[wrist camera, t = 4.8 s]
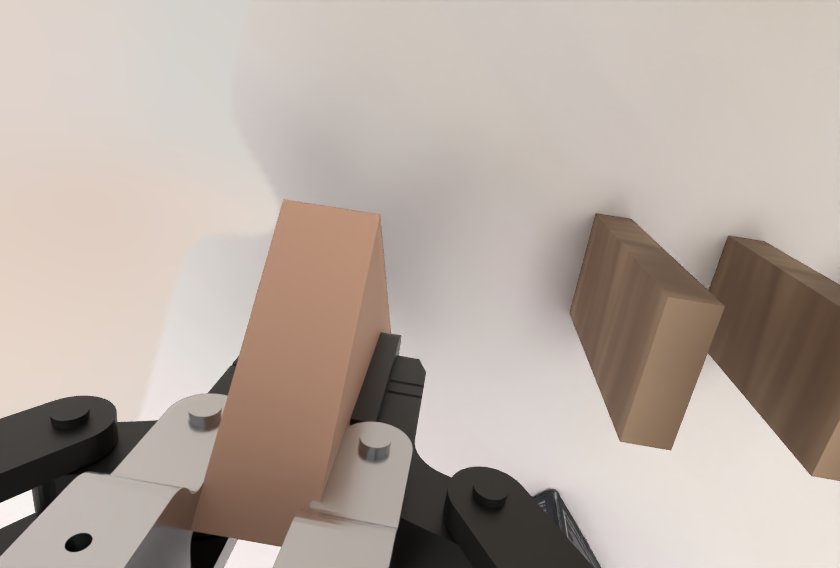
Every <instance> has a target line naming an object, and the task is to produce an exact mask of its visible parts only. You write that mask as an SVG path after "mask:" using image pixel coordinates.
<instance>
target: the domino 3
mask: <svg viewBox="0 0 840 568" xmlns="http://www.w3.org/2000/svg"><path fill="white" fill-rule="evenodd" d="M709 292H710V293H711V294H712V295H713V296H714V297H716V298H717V299H718V300H719V301H720V302H721V303H722V304H723V305H724V306H725V308H724V310H723V313H722V316H721V318H720V321H719V324H718V326H717V329H716V332H715V334H714V337H713V340H712V342H711V345H710V348H709V350H708V354H709V355H710V356H711V357H712V358H713V359H714V361H715V362H716V363H717V364H718V365H719V367H720V368H721V369H722V370H723V371H724V373H725V374H726V375H727V376H728V377H729V379H730V380H731V381H732V382H733V383H734V385H735V386H736V387H737V388H738V389H739V390H740V392H741V393H742V394H743V395H744V396H745V398H746V399H747V400H748V401H749V402H750V404H751V405H752V406H753V407H754V408H755V410H756V411H757V412H758V413H759V414H760V415H761V417H762V418H763V419H764V420H765V421H766V423H767V424H768V425H769V426H770V427H771V429H772V430H773V431H774V432H775V433H776V435H777V436H778V437H779V438H780V439H781V440H782V442H783V443H784V444H785V445H786V446H787V448H788V449H789V450H790V451H791V452H792V454H793V455H794V456H795V457H796V458H797V460H798V461H799V462H800V463H801V464H802V465H803V467H804V468H805V469H806V470H807V471H808V473H809V474H810V475H811V476H814V477H820V478H825V479H831V480H837V481H840V285H839V284H837V283H836V282H834V281H832V280H830V279H829V278H827V277H825V276H823V275H822V274H820V273H818V272H816V271H815V270H813V269H811V268H810V267H808V266H806V265H804V264H803V263H801V262H799V261H797V260H796V259H794V258H792V257H790V256H789V255H787V254H785V253H784V252H782V251H780V250H778V249H777V248H775V247H773V246H771V245H770V244H768V243H766V242H765V241H758V240H752V239H746V238H739V237H733V236H728V239H727V241H726V244H725V247H724V250H723V252H722V255H721V258H720V261H719V264H718V266H717V269H716V272H715V275H714V277H713V280H712V283H711V286H710V289H709Z"/></svg>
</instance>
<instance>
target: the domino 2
mask: <svg viewBox="0 0 840 568" xmlns="http://www.w3.org/2000/svg"><path fill="white" fill-rule="evenodd" d="M724 308H725V306H724V305H723V304H722V303H721V302H720V301H719V300H718V299H717V298H716V297H714V296H713V295H712V294H711V293H710V292H709V291H708V290H707V289H706V288H705V287H704V286H703V285H702V284H701V283H699V282H698V281H697V280H696V279H695V278H694V277H693V276H692V275H691V274H690V273H689V272H688V271H687V270H686V269H684V268H683V267H682V266H681V265H680V264H679V263H678V262H677V261H676V260H675V259H674V258H673V257H672V256H670V255H669V254H668V253H667V252H666V251H665V250H664V249H663V248H662V247H661V246H660V245H659V244H658V243H657V242H655V241H654V240H653V239H652V238H651V237H650V236H649V235H648V234H647V233H646V232H645V231H644V230H643V229H641V228H640V227H639V226H638V225H637V224H636V223H635V222H634V221H633V220H632V219H628V218H621V217H615V216H609V215H603V214H596V215H595V219H594V222H593V226H592V230H591V234H590V238H589V241H588V245H587V249H586V253H585V257H584V260H583V264H582V268H581V272H580V276H579V279H578V283H577V287H576V291H575V295H574V298H573V302H572V306H571V310H570V316H571V318H572V321H573V323H574V326H575V329H576V331H577V334H578V336H579V339H580V341H581V344H582V346H583V349H584V351H585V354H586V356H587V359H588V361H589V364H590V366H591V369H592V372H593V374H594V377H595V379H596V382H597V384H598V387H599V389H600V392H601V394H602V397H603V399H604V402H605V404H606V407H607V410H608V412H609V415H610V417H611V420H612V422H613V425H614V427H615V430H616V432H617V435H618V437H619V440H620V442H626V443H631V444H637V445H643V446H649V447H655V448H660V449H666V450H671V449H672V446H673V444H674V441H675V438H676V436H677V433H678V430H679V428H680V425H681V422H682V420H683V417H684V414H685V412H686V409H687V406H688V404H689V401H690V398H691V396H692V393H693V390H694V388H695V385H696V382H697V380H698V377H699V374H700V372H701V369H702V366H703V364H704V361H705V358H706V356H707V353H708V350H709V348H710V345H711V342H712V340H713V337H714V334H715V332H716V329H717V326H718V324H719V321H720V318H721V316H722V313H723V310H724Z"/></svg>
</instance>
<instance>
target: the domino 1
mask: <svg viewBox="0 0 840 568" xmlns="http://www.w3.org/2000/svg"><path fill="white" fill-rule="evenodd" d="M381 332H384V333H390V334H391V329H390V318H389V307H388V296H387V285H386V274H385V263H384V252H383V241H382V231H381V220H380V215H379V214H373V213H367V212H360V211H354V210H347V209H341V208H334V207H328V206H322V205H315V204H309V203H302V202H296V201H289V200H283V203H282V206H281V210H280V214H279V217H278V221H277V224H276V228H275V231H274V235H273V238H272V242H271V245H270V249H269V252H268V256H267V259H266V263H265V266H264V270H263V273H262V277H261V281H260V284H259V288H258V291H257V295H256V298H255V302H254V305H253V309H252V312H251V316H250V319H249V323H248V326H247V330H246V333H245V337H244V340H243V344H242V348H241V351H240V355H239V358H238V362H237V365H236V369H235V372H234V376H233V379H232V383H231V386H230V390H229V393H228V397H227V400H226V404H225V407H224V411H223V415H222V418H221V422H220V425H219V429H218V432H217V436H216V439H215V443H214V446H213V450H212V453H211V457H210V460H209V464H208V467H207V471H206V474H205V478H204V484H203V487H202V491H201V495H200V498H199V502H198V505H197V509H196V512H195V516H194V520H193V523H192V527H191V530H190V531H195V532H201V533H207V534H212V535H218V536H224V537H229V538H235V539H241V540H246V541H252V542H257V543H263V544H269V545H274V546H280V547H282V545H283V542H284V540H285V538H286V535H287V533H288V531H289V529H290V526H291V524H292V522H293V519H294V517H295V515H296V514H297V512H298V511H299V510H300V509H305V510H308V509H309V506H310V504H311V501H318V502H320V499H321V497H322V494H323V491H324V488H325V485H326V483H327V480H328V477H329V474H330V471H331V468H332V466H333V463H334V460H335V457H336V454H337V452H338V449H339V446H340V443H341V440H342V437H343V435H344V432H345V429H346V428H347V427H349V426H350V418H351V416H352V413H353V410H354V407H355V404H356V401H357V398H358V396H359V393H360V390H361V387H362V384H363V381H364V379H365V376H366V373H367V370H368V367H369V364H370V361H371V359H372V356H373V353H374V350H375V347H376V344H377V342H378V339H379V336H380V333H381Z"/></svg>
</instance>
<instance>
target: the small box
mask: <svg viewBox="0 0 840 568" xmlns="http://www.w3.org/2000/svg"><path fill="white" fill-rule="evenodd" d="M533 499H534V500H535V501H536V502H537V504H538V505H539V506H540V507H541V508H542V509H543V510H544V511H545V513H546V514H547V515H548V516H549V517H550V518H551V519H552V521H553V522H554V523H555V524H556V525H557V526H558V527H559V528H560V530H561V531H562V532H563V533H564V534H565V535H566V536H567V538H568V539H569V540H570V541H571V542H572V543H573V544H574V545H575V547H576V548H577V549H578V550H579V551H580V552H581V553H582V555H583V556H584V557H585V558H586V559H587V560H588V561H589V563H590V564H591V565H592V566H593V567H594V568H601V567H600V565H599V563H598V562H597V560H596V558H595V556H594V555H593V553H592V551H591V549H590V548H589V545H588V543H587V542H586V540H585V538H584V537H583V535H582V533H581V532H580V530H579V528H578V526H577V525H576V523H575V521H574V520H573V518H572V516H571V515H570V513H569V511H568V509H567V508H566V506H565V504H564V503H563V501H562V499H561V498H560V496H559V493H558V492H557V491H552V492H549V493H544V494H543V495H540V496H538V497H535V498H533Z"/></svg>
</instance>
